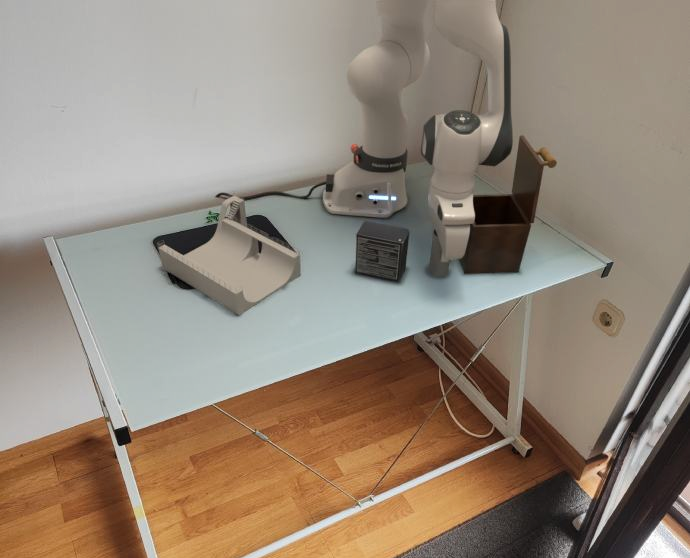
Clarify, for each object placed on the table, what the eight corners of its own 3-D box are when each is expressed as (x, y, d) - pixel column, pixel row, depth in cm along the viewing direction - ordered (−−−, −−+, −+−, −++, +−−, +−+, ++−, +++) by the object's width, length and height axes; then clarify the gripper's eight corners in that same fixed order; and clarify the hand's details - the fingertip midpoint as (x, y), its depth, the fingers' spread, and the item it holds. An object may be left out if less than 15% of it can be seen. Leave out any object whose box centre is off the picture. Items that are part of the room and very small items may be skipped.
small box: (407, 267, 132) (411, 227, 125) (399, 284, 128) (403, 243, 121) (362, 258, 135) (364, 218, 128) (353, 274, 130) (355, 233, 123)
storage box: (464, 274, 131) (473, 226, 123) (451, 241, 141) (459, 195, 133) (518, 272, 132) (531, 225, 124) (502, 239, 142) (512, 193, 134)
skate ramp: (162, 268, 131) (153, 229, 124) (238, 227, 144) (233, 190, 137) (239, 315, 119) (233, 275, 112) (313, 266, 132) (312, 228, 125)
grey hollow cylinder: (442, 279, 129) (449, 240, 122) (424, 273, 131) (430, 234, 124) (451, 270, 132) (458, 230, 125) (433, 263, 134) (439, 224, 127)
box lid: (540, 164, 114) (565, 161, 114) (519, 135, 124) (542, 133, 124) (530, 223, 123) (553, 221, 123) (511, 192, 133) (533, 190, 133)
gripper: (425, 172, 126) (419, 227, 135) (445, 222, 111) (436, 280, 121) (454, 172, 126) (445, 227, 136) (477, 221, 112) (466, 279, 121)
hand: (441, 252), depth 128 cm, fingers closed on grey hollow cylinder, 4 cm apart
